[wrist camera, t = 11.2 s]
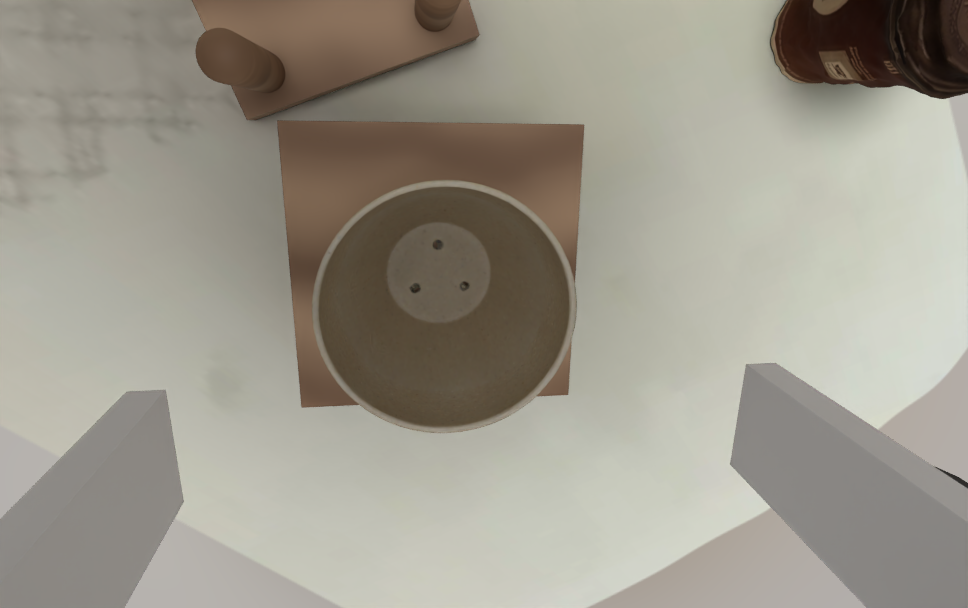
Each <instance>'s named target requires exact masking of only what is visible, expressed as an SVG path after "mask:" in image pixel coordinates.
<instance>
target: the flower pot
mask: <svg viewBox="0 0 968 608" xmlns="http://www.w3.org/2000/svg"><path fill="white" fill-rule="evenodd" d="M434 242H436V243H437V248H436V249H435V248H434V246H433V244H434ZM463 282H467V283H468V285H464V284H463ZM416 288H420V289H419V291H417V292H414V290H415V289H416ZM576 308H577V301H576V289H575V282H574V278H573V274H572V270H571V267H570V264H569V261H568V259H567V257H566V255H565V252H564V250H563V248H562V246H561V245H560V243H559V241H558V240H557V238H556V237H555V235H554V234H553V233H552V231H551V230H550V228H549V227H548V226H547V225H546V224H545V223H544V222H543V221H542V220H541V219H540V217H539V216H537V215H536V214H535V213H534V212H533V211H532V210H531V209H529V208H528V207H527V206H525V205H524V204H523V203H521V202H520V201H518V200H516V199H515V198H513V197H511V196H510V195H508V194H506V193H503V192H501V191H499V190H496V189H494V188H491V187H488V186H485V185H481V184H477V183H472V182H466V181H459V180H434V181H425V182H420V183H415V184H411V185H407V186H404V187H401V188H398V189H395V190H393V191H390V192H388V193H386V194H384V195H382V196H380V197H379V198H377V199H375V200H374V201H372V202H370V203H369V204H368V205H366V206H365V207H363V208H362V209H361V210H359V211H358V212H357V213H356V214H355V215H353V216H352V217H351V218H350V220H349V221H348V222H347V223H346V224H345V225H344V226H343V227H342V229H341V230H340V231H339V232H338V233H337V235H336V236H335V237H334V239H333V241H332V242H331V244H330V246H329V247H328V249H327V251H326V253H325V255H324V257H323V259H322V261H321V264H320V267H319V269H318V272H317V276H316V280H315V284H314V290H313V297H312V321H313V329H314V333H315V338H316V341H317V344H318V348H319V351H320V354H321V356H322V358H323V360H324V362H325V364H326V366H327V368H328V370H329V371H330V373H331V375H332V376H333V378H334V379H335V380H336V382H337V383H338V384H339V386H340V387H341V388H342V389H343V390H344V391H345V392H346V394H347V395H348V396H350V397H351V398H352V399H353V400H354V401H355V402H357V403H358V404H359V405H360V406H362V407H363V408H364V409H366V410H367V411H369V412H371V413H372V414H374V415H376V416H377V417H379V418H381V419H383V420H385V421H388V422H390V423H392V424H395V425H398V426H401V427H404V428H408V429H412V430H417V431H423V432H431V433H451V432H462V431H467V430H472V429H476V428H480V427H484V426H487V425H490V424H492V423H495V422H497V421H499V420H502V419H504V418H506V417H508V416H510V415H511V414H513V413H515V412H516V411H518V410H519V409H521V408H522V407H524V406H525V405H526V404H528V403H529V402H530V401H531V400H533V399H534V398H535V397H536V396H537V395H538V394H539V393H540V392H541V391H542V390H543V389H544V388H545V387H546V385H547V384H548V383H549V382H550V380H551V379H552V378H553V376H554V375H555V373H556V372H557V370H558V369H559V367H560V365H561V363H562V362H563V360H564V358H565V356H566V353H567V351H568V348H569V346H570V343H571V339H572V335H573V331H574V328H575V321H576Z"/></svg>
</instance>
